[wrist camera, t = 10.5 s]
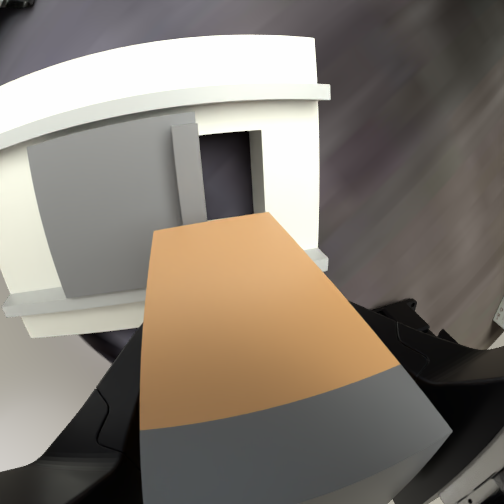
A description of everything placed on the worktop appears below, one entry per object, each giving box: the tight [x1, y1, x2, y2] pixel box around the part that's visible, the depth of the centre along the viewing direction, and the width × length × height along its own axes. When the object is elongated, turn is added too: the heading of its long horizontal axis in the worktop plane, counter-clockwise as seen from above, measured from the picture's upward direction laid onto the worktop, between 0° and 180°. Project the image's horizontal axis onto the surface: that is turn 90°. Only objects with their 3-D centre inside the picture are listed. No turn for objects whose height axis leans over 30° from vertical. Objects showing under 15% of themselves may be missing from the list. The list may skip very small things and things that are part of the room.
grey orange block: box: [140, 212, 452, 504], centre depth 7 cm, size 4×4×9 cm
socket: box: [0, 35, 330, 338], centre depth 16 cm, size 16×20×4 cm
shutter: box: [27, 112, 207, 299], centre depth 13 cm, size 8×8×4 cm
